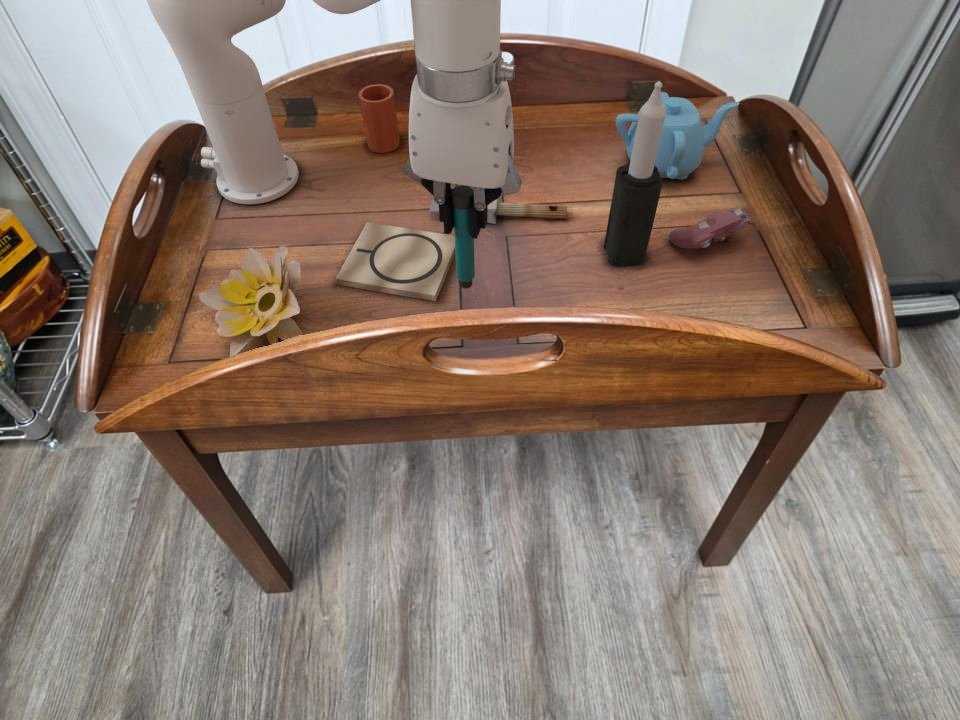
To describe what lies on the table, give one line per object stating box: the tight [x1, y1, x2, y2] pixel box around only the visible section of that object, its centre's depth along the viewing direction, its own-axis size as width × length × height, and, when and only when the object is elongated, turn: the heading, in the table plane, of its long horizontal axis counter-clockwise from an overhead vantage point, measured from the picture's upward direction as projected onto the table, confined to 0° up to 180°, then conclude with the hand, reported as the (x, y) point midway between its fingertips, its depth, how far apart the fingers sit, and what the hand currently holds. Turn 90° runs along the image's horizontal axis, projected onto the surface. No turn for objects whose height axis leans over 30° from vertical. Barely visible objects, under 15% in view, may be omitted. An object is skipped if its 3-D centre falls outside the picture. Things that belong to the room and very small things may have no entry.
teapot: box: [615, 91, 740, 180], centre depth 99 cm, size 13×14×11 cm
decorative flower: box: [198, 245, 303, 358], centre depth 80 cm, size 15×11×10 cm
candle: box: [603, 80, 666, 267], centre depth 81 cm, size 5×5×25 cm
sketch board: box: [335, 221, 456, 302], centre depth 90 cm, size 14×12×1 cm
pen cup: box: [358, 83, 401, 154], centre depth 105 cm, size 5×6×9 cm
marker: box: [451, 185, 476, 290], centre depth 75 cm, size 2×2×14 cm
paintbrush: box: [429, 198, 568, 225], centre depth 95 cm, size 4×3×20 cm
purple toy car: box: [669, 207, 751, 250], centre depth 89 cm, size 10×5×7 cm, turn 117°
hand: (463, 227), depth 73 cm, fingers closed on marker, 2 cm apart
